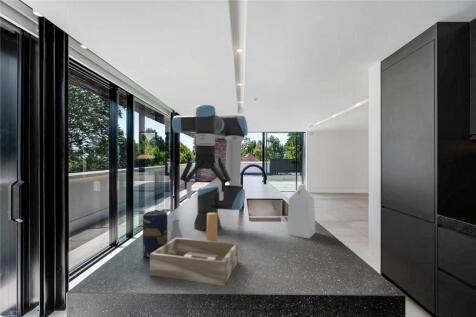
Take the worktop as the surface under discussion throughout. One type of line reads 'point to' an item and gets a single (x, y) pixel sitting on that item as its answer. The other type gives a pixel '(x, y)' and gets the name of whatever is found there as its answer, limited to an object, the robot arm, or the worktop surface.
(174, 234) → the flask
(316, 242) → the worktop surface
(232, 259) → the open box
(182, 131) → the robot arm
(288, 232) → the milk
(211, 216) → the peg
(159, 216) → the canister
